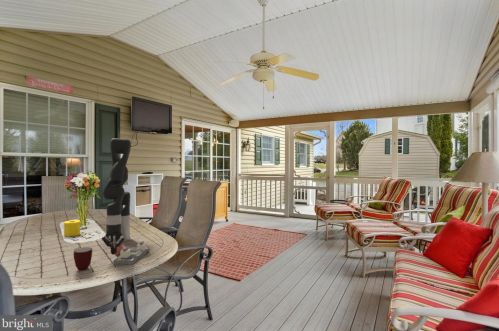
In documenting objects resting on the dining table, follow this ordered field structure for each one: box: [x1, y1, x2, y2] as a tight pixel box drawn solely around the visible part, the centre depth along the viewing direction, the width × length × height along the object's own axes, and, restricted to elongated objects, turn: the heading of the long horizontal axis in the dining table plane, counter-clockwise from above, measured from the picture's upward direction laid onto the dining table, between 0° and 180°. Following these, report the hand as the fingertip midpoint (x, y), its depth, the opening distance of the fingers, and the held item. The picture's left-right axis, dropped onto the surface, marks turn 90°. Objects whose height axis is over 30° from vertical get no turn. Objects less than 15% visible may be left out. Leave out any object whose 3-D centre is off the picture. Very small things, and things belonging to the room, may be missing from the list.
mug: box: [73, 246, 93, 272], centre depth 140 cm, size 11×8×10 cm
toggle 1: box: [120, 247, 130, 258], centre depth 151 cm, size 4×3×4 cm
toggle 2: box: [136, 240, 147, 251], centre depth 163 cm, size 4×3×4 cm
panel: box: [113, 246, 149, 266], centre depth 157 cm, size 10×22×3 cm, turn 178°
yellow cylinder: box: [63, 219, 81, 237], centre depth 202 cm, size 10×10×9 cm
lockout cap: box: [115, 243, 124, 257], centre depth 162 cm, size 4×4×6 cm
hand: (113, 254), depth 151 cm, fingers closed
